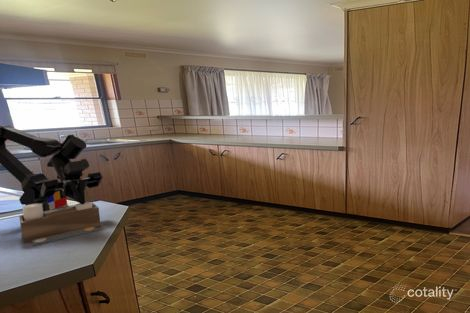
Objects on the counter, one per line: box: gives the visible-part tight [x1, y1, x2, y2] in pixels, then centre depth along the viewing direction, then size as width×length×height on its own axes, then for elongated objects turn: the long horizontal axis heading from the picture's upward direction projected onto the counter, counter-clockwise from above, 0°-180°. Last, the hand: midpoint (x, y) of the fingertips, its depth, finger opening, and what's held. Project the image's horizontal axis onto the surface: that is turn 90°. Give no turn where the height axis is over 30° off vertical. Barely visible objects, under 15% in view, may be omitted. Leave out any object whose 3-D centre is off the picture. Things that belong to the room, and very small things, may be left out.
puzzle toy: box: [46, 180, 68, 210], centre depth 128 cm, size 10×10×10 cm
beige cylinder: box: [74, 201, 93, 211], centre depth 103 cm, size 5×5×6 cm
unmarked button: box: [22, 203, 44, 221], centre depth 95 cm, size 5×5×6 cm
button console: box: [18, 202, 101, 244], centre depth 99 cm, size 9×21×6 cm, turn 127°
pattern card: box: [31, 226, 98, 247], centre depth 94 cm, size 4×17×1 cm, turn 127°
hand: (83, 203), depth 103 cm, fingers closed, pressing on beige cylinder
